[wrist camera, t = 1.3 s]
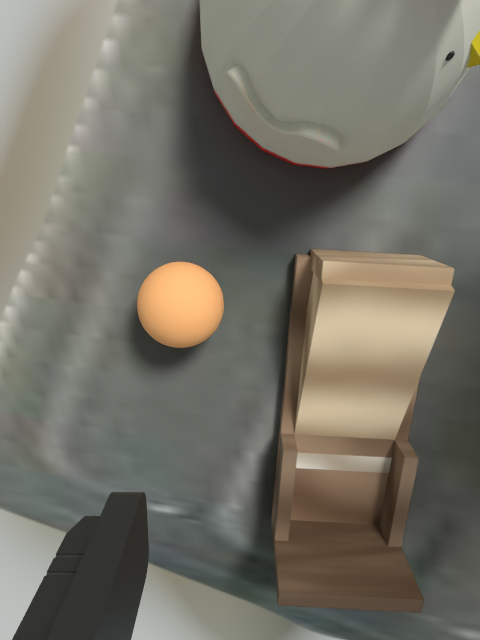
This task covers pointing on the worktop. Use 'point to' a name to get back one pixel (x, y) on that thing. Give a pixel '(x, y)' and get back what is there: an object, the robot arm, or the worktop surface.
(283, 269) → the worktop surface
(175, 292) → the ball
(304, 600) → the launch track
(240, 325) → the worktop surface
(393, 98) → the white dome
